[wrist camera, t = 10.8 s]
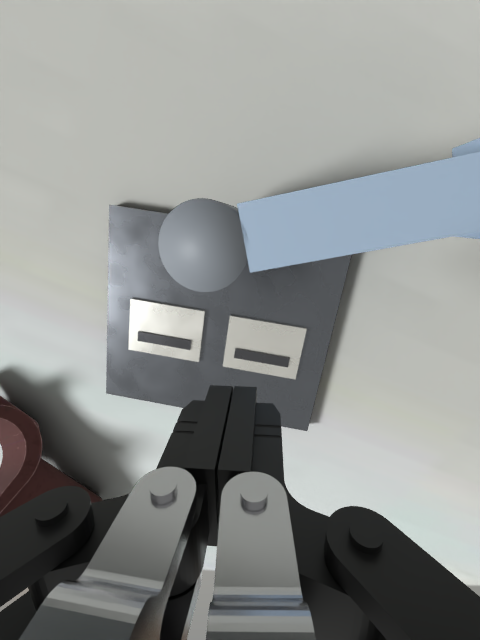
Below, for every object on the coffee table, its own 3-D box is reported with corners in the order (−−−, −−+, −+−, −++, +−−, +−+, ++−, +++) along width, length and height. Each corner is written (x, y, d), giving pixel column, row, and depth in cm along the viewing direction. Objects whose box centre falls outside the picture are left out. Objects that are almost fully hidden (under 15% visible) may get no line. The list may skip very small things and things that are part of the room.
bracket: (-22, 369, 27) (-163, 487, 20) (125, 474, 34) (59, 593, 26) (-40, 384, 31) (-166, 489, 23) (96, 477, 37) (30, 582, 30)
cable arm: (196, 282, 22) (172, 302, 16) (179, 208, 20) (146, 204, 15) (471, 233, 19) (545, 238, 14) (471, 144, 18) (554, 113, 12)
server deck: (115, 198, 24) (89, 194, 21) (353, 234, 23) (366, 237, 20) (111, 387, 30) (89, 410, 26) (306, 424, 29) (310, 452, 25)
